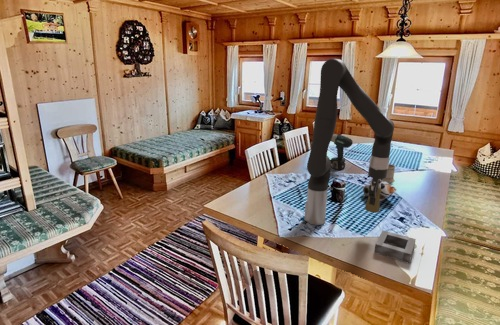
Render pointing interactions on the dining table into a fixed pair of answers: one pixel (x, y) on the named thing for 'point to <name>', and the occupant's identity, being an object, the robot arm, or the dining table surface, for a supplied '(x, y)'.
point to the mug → (390, 174)
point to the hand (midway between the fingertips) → (373, 202)
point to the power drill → (340, 150)
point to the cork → (374, 207)
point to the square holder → (395, 246)
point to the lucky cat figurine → (385, 192)
